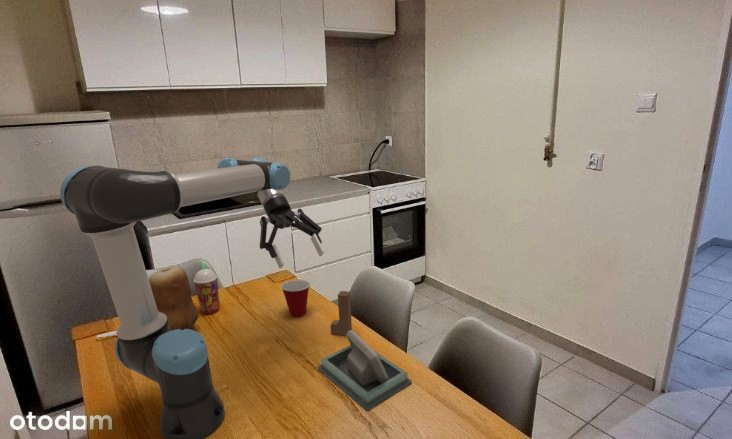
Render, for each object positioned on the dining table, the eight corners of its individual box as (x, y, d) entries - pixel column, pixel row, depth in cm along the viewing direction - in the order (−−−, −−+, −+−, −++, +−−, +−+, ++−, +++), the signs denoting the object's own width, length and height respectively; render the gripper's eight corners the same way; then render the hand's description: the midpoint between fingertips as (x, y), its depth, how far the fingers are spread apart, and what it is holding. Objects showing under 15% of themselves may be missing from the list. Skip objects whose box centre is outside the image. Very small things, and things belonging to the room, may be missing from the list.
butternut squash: (158, 331, 150) (145, 265, 143) (198, 320, 156) (188, 257, 149) (160, 350, 138) (146, 280, 131) (203, 338, 144) (192, 270, 137)
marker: (155, 325, 154) (154, 320, 154) (155, 328, 153) (154, 322, 152) (98, 339, 147) (97, 333, 146) (97, 342, 145) (96, 336, 144)
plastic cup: (315, 306, 163) (313, 277, 160) (309, 320, 153) (306, 290, 149) (288, 306, 164) (285, 277, 161) (280, 320, 154) (276, 290, 150)
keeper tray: (367, 411, 108) (366, 399, 107) (317, 369, 125) (317, 359, 124) (411, 383, 118) (411, 372, 117) (360, 348, 135) (359, 338, 134)
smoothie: (199, 307, 166) (191, 260, 160) (222, 304, 168) (215, 256, 162) (198, 318, 158) (190, 268, 152) (222, 313, 160) (214, 264, 154)
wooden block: (352, 331, 145) (350, 291, 141) (349, 336, 142) (346, 295, 138) (334, 329, 147) (331, 289, 142) (330, 334, 144) (328, 294, 139)
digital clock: (391, 386, 115) (390, 352, 112) (359, 394, 113) (357, 360, 110) (372, 353, 130) (371, 323, 127) (343, 360, 128) (341, 328, 125)
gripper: (305, 201, 142) (333, 255, 135) (233, 216, 127) (260, 277, 120) (312, 188, 137) (341, 243, 130) (238, 202, 122) (266, 265, 115)
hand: (302, 259), depth 125 cm, fingers open, 13 cm apart
